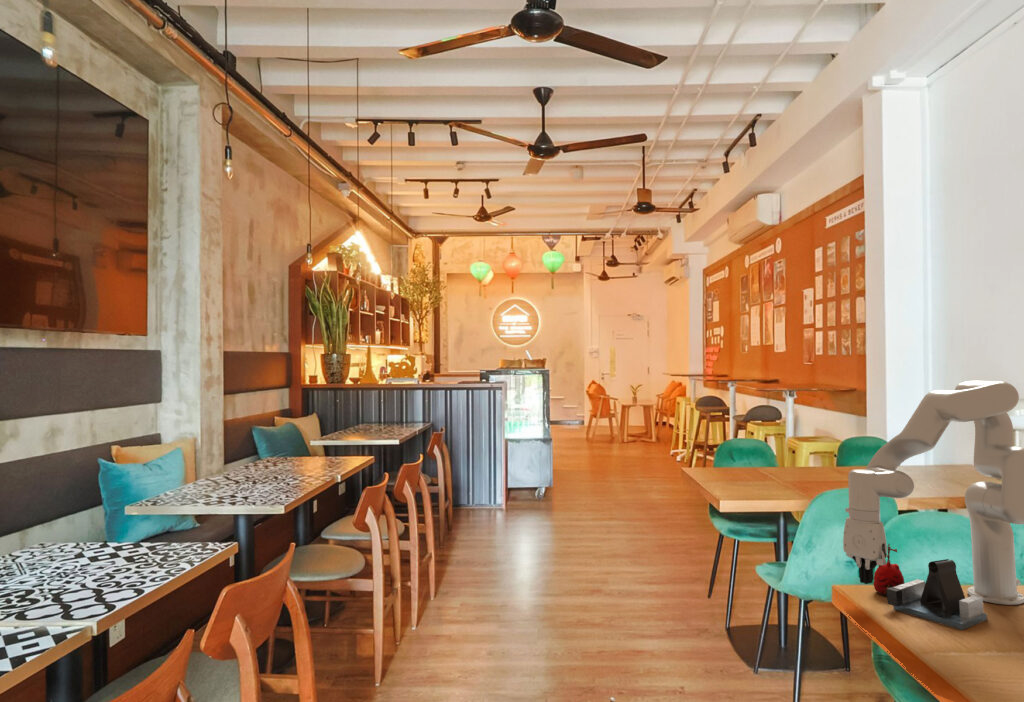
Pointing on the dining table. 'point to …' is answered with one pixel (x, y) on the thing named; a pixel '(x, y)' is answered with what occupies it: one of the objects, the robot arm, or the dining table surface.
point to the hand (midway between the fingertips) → (866, 582)
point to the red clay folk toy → (887, 576)
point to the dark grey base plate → (966, 618)
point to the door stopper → (943, 587)
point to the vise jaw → (905, 592)
